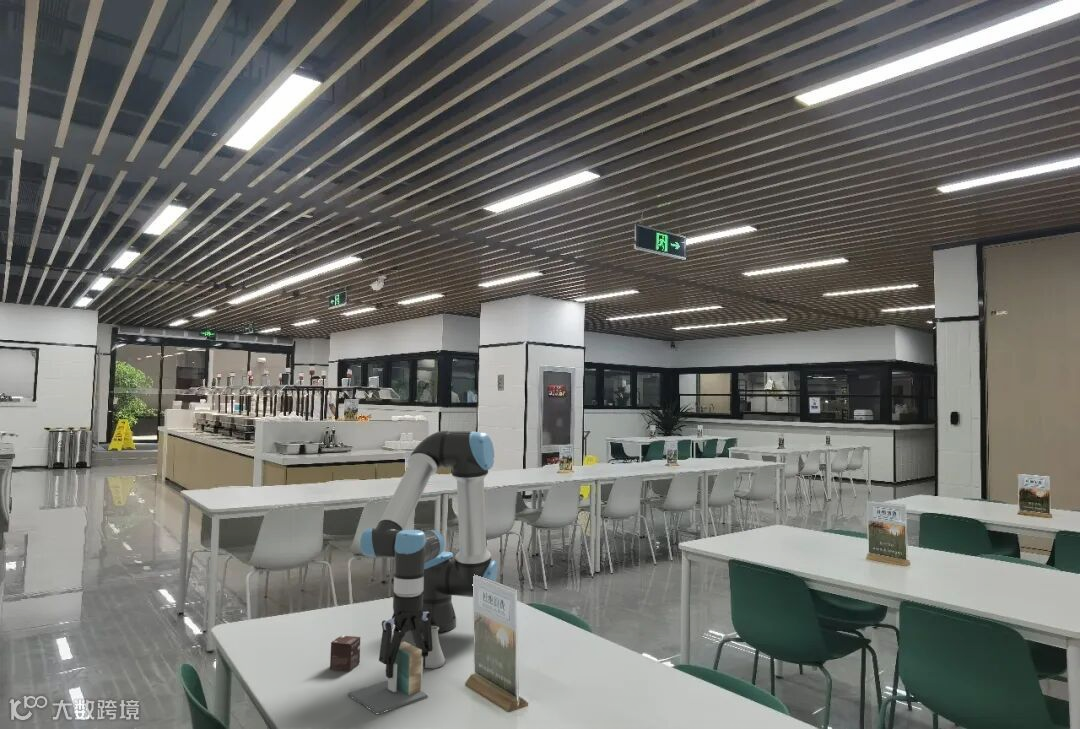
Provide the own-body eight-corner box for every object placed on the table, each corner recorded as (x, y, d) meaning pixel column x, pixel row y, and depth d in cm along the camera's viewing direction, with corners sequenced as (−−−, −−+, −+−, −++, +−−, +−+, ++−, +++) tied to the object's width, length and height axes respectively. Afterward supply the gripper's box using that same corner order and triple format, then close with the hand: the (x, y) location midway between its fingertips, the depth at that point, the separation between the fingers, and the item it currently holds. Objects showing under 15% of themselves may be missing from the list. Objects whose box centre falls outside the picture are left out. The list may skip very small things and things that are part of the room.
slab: (403, 681, 171) (404, 641, 172) (420, 690, 165) (421, 649, 166) (389, 685, 168) (390, 644, 169) (406, 695, 162) (408, 653, 163)
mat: (397, 679, 173) (397, 677, 173) (427, 697, 163) (427, 694, 163) (347, 694, 163) (348, 692, 163) (377, 714, 153) (377, 711, 153)
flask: (450, 662, 186) (451, 626, 187) (435, 671, 179) (436, 633, 180) (428, 657, 189) (429, 622, 190) (413, 666, 182) (414, 629, 183)
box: (349, 672, 178) (350, 644, 178) (329, 670, 179) (330, 642, 179) (360, 663, 184) (361, 636, 184) (340, 661, 185) (341, 634, 185)
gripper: (432, 583, 178) (429, 671, 176) (365, 596, 164) (362, 692, 163) (449, 589, 172) (446, 680, 171) (381, 603, 159) (377, 702, 157)
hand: (405, 685), depth 167 cm, fingers open, 7 cm apart
